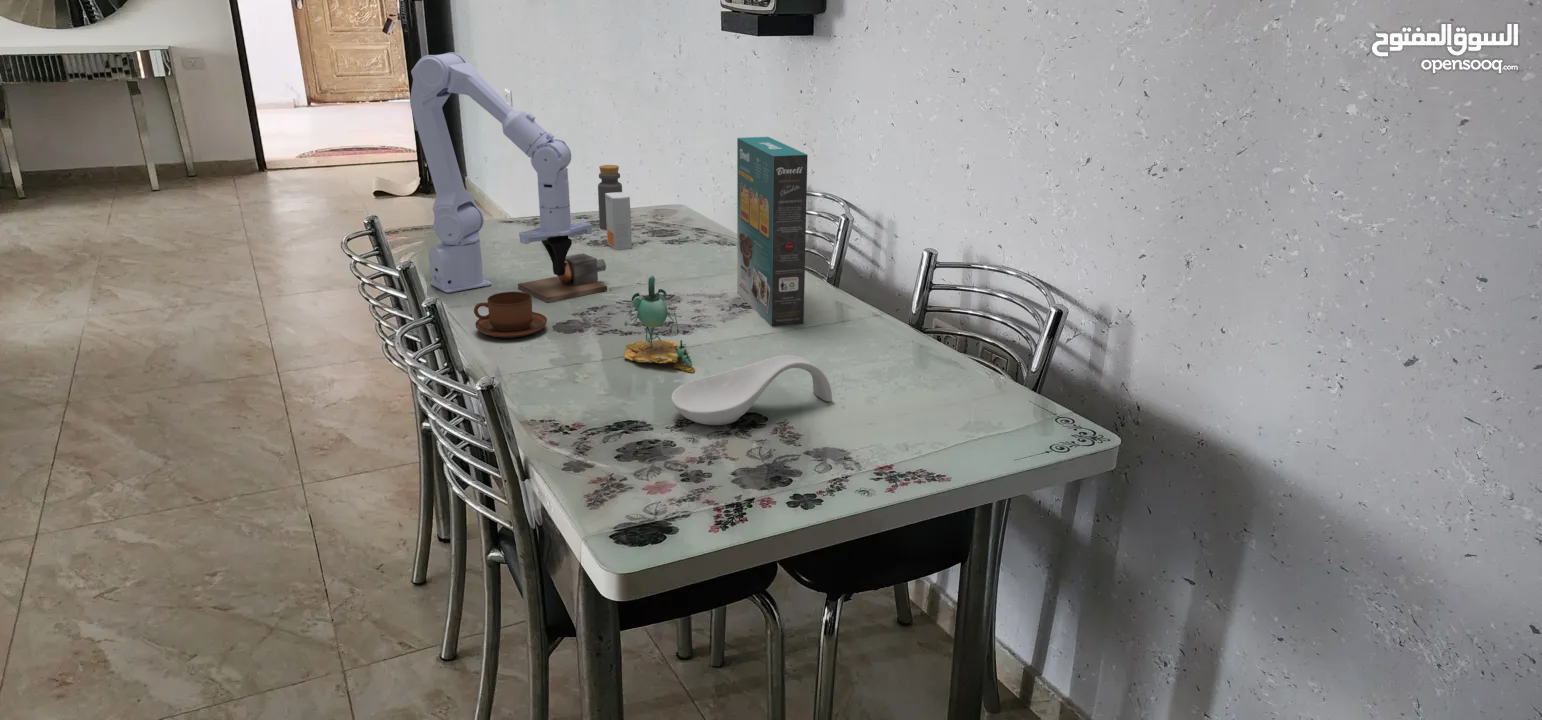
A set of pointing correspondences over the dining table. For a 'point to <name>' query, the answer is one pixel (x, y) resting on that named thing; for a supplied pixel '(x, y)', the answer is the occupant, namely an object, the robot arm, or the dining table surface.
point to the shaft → (569, 271)
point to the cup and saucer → (509, 316)
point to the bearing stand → (579, 286)
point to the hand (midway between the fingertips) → (558, 274)
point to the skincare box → (618, 220)
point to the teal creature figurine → (652, 315)
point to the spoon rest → (739, 390)
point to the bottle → (607, 189)
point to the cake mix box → (771, 229)
